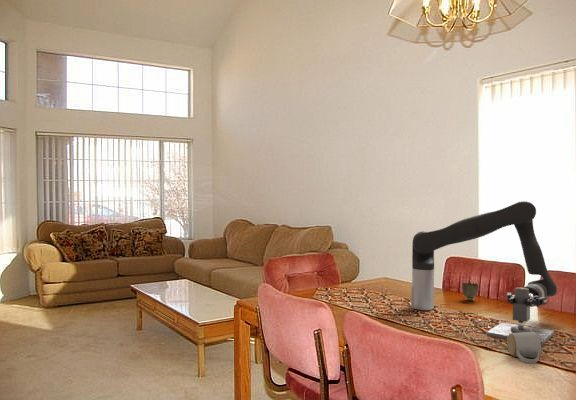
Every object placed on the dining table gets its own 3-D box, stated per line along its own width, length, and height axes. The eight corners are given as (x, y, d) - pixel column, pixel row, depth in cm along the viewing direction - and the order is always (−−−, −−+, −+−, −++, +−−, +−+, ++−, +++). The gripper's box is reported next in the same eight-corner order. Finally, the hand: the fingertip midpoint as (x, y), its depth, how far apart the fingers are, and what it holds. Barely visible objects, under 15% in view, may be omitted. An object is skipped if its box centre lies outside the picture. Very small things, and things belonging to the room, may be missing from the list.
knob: (512, 319, 183) (513, 288, 182) (516, 317, 186) (516, 286, 186) (526, 321, 180) (526, 289, 180) (529, 319, 183) (530, 287, 183)
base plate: (486, 335, 182) (487, 320, 181) (501, 325, 196) (502, 311, 196) (542, 345, 170) (542, 329, 170) (553, 334, 184) (554, 319, 184)
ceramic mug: (505, 352, 162) (505, 328, 162) (531, 353, 162) (532, 329, 162) (517, 364, 152) (518, 338, 152) (546, 365, 151) (547, 339, 151)
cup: (479, 302, 237) (479, 285, 237) (462, 301, 238) (463, 284, 238) (476, 299, 244) (477, 282, 244) (460, 298, 246) (461, 281, 245)
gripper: (511, 282, 198) (498, 289, 185) (552, 287, 190) (541, 294, 176) (511, 302, 199) (498, 310, 185) (552, 307, 190) (541, 316, 176)
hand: (519, 302), depth 181 cm, fingers closed on knob, 4 cm apart
